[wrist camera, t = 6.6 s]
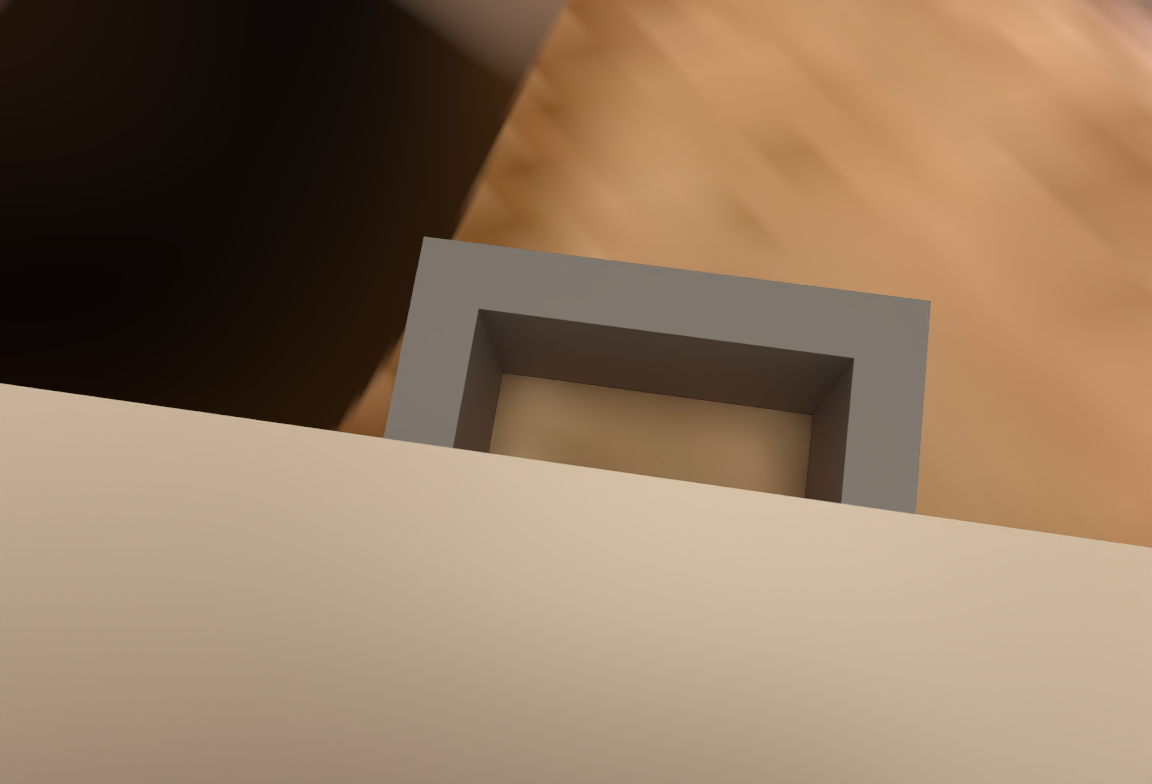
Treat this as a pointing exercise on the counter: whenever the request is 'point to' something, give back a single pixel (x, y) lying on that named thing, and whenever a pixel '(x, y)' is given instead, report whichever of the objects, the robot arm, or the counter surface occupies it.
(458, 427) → the frame
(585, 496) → the block
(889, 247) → the counter surface
